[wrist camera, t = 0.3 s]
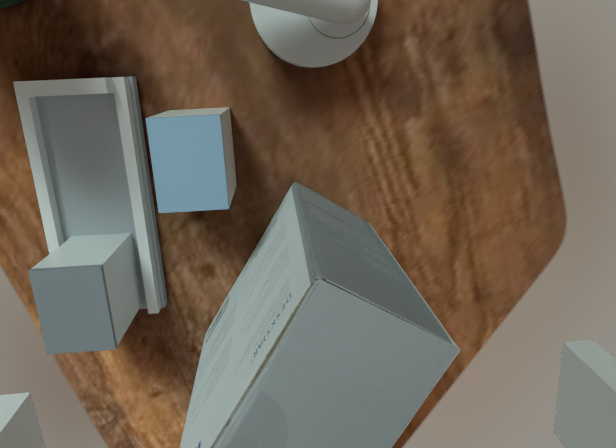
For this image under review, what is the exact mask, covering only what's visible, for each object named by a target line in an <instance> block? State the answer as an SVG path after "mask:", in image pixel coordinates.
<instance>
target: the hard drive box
mask: <svg viewBox="0 0 616 448" xmlns="http://www.w3.org/2000/svg"><path fill="white" fill-rule="evenodd" d="M460 350H461V349H460V348H459V347H458V346H457V345H456V344H455V342H454V341H453V339H452V338H451V337H450V335H449V334H448V332H447V331H446V329H445V328H444V327H443V325H442V324H441V322H440V321H439V319H438V318H437V317H436V315H435V314H434V312H433V311H432V309H431V308H430V307H429V305H428V304H427V303H426V301H425V300H424V298H423V297H422V295H421V294H420V293H419V291H418V290H417V289H416V287H415V286H414V284H413V283H412V282H411V280H410V279H409V277H408V276H407V274H406V273H405V272H404V270H403V269H402V267H401V266H400V265H399V263H398V262H397V260H396V259H395V258H394V256H393V255H392V254H391V252H390V251H389V249H388V248H387V247H386V245H385V244H384V243H383V241H382V240H381V238H380V237H379V235H378V234H377V233H376V231H375V230H374V228H373V227H372V225H371V224H370V223H369V222H368V221H366V220H364V219H362V218H361V217H359V216H357V215H355V214H354V213H352V212H350V211H348V210H346V209H345V208H343V207H341V206H339V205H337V204H336V203H334V202H332V201H330V200H328V199H327V198H325V197H323V196H321V195H319V194H318V193H316V192H314V191H312V190H310V189H308V188H306V187H305V186H303V185H301V184H299V183H297V182H294V183H293V184H292V186H291V187H290V189H289V191H288V192H287V194H286V196H285V198H284V199H283V201H282V203H281V205H280V207H279V208H278V210H277V211H276V213H275V215H274V217H273V218H272V220H271V222H270V223H269V225H268V227H267V229H266V231H265V232H264V234H263V236H262V238H261V239H260V241H259V243H258V244H257V246H256V248H255V249H254V251H253V253H252V254H251V256H250V258H249V260H248V261H247V263H246V265H245V266H244V268H243V270H242V272H241V273H240V275H239V277H238V278H237V280H236V282H235V284H234V285H233V287H232V289H231V290H230V292H229V294H228V295H227V297H226V299H225V300H224V302H223V304H222V306H221V307H220V309H219V311H218V313H217V315H216V316H215V318H214V320H213V321H212V323H211V325H210V327H209V328H208V330H207V332H206V335H205V338H204V343H203V347H202V351H201V356H200V360H199V365H198V369H197V373H196V378H195V382H194V387H193V391H192V396H191V400H190V404H189V409H188V413H187V418H186V422H185V427H184V431H183V435H182V440H181V444H180V448H392V447H393V445H394V444H395V442H396V441H397V439H398V438H399V437H400V435H401V434H402V433H403V431H404V430H405V428H406V427H407V426H408V424H409V423H410V421H411V420H412V418H413V417H414V415H415V414H416V412H417V411H418V410H419V408H420V407H421V405H422V404H423V402H424V401H425V400H426V398H427V397H428V395H429V394H430V392H431V391H432V390H433V388H434V387H435V385H436V384H437V383H438V381H439V380H440V378H441V377H442V375H443V374H444V373H445V371H446V370H447V368H448V367H449V366H450V364H451V363H452V361H453V360H454V358H455V357H456V356H457V354H458V353H459V351H460Z"/></svg>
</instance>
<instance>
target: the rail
mask: <svg viewBox="0 0 616 448" xmlns="http://www.w3.org/2000/svg"><path fill="white" fill-rule="evenodd" d="M13 84H14V89H15V94H16V99H17V103H18V108H19V113H20V117H21V122H22V127H23V132H24V136H25V141H26V146H27V150H28V155H29V160H30V165H31V169H32V174H33V179H34V184H35V188H36V193H37V198H38V202H39V207H40V212H41V217H42V221H43V226H44V231H45V235H46V240H47V245H48V250H49V254H50V253H52V252H53V251H54V250H55V249H57V248H58V247H59V246H61V245H62V244H63V243H64V242H66V241H67V240H68V239H69V238H71V237H72V236H87V235H103V234H120V233H131V234H132V240H133V247H134V253H135V259H136V266H137V272H138V279H139V285H140V291H141V298H142V305H141V306H140V308H139V309H148V314H155V313H159V311H160V309H161V308H162V307H165V306H166V304H167V302H168V301H167V294H166V287H165V280H164V273H163V266H162V258H161V251H160V244H159V237H158V230H157V223H156V216H155V209H154V202H153V194H152V187H151V180H150V173H149V166H148V159H147V152H146V145H145V138H144V130H143V123H142V116H141V109H140V102H139V95H138V88H137V81H136V77H108V78H84V79H62V80H40V81H18V82H13Z"/></svg>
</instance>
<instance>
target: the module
mask: <svg viewBox="0 0 616 448" xmlns="http://www.w3.org/2000/svg"><path fill="white" fill-rule="evenodd" d="M146 125H147V133H148V140H149V147H150V154H151V161H152V169H153V176H154V183H155V190H156V198H157V205H158V212H159V213H170V212H187V211H204V210H221V209H229V207H230V204H231V201H232V198H233V195H234V192H235V189H236V186H237V183H236V172H235V161H234V149H233V138H232V127H231V115H230V107H228V108H208V109H187V110H169V111H166V112H163V113H160V114H157V115H154V116H151V117H148V118H146Z"/></svg>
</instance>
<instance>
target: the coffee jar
mask: <svg viewBox="0 0 616 448" xmlns="http://www.w3.org/2000/svg"><path fill="white" fill-rule="evenodd" d="M25 1H26V0H0V9H3V8H8V7H12V6H15V5H18V4H21V3H23V2H25Z"/></svg>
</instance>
